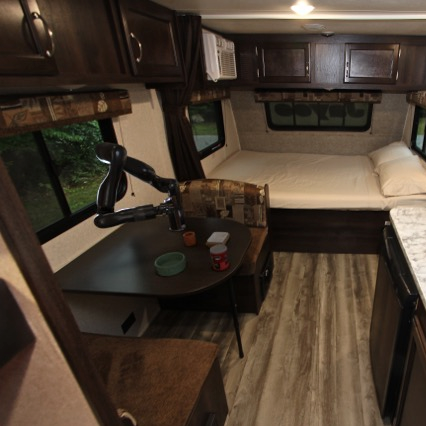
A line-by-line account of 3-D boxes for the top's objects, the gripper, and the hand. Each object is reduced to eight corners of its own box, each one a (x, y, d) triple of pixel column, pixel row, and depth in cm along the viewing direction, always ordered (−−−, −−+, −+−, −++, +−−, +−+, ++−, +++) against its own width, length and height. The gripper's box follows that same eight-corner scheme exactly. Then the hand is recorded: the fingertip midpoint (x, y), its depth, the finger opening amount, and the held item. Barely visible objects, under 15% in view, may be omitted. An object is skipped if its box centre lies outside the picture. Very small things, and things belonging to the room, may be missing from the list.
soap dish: (223, 250, 164) (222, 242, 161) (206, 249, 164) (204, 241, 162) (230, 239, 175) (229, 231, 173) (214, 238, 175) (213, 231, 173)
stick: (177, 227, 156) (170, 196, 148) (181, 226, 157) (175, 195, 149) (178, 228, 154) (171, 197, 147) (182, 228, 155) (175, 196, 147)
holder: (184, 242, 170) (182, 233, 167) (195, 240, 173) (193, 230, 170) (186, 247, 165) (184, 237, 163) (197, 244, 168) (195, 235, 165)
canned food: (210, 266, 150) (207, 248, 145) (224, 260, 155) (221, 242, 150) (217, 273, 145) (214, 254, 140) (231, 266, 150) (229, 248, 145)
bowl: (156, 264, 150) (153, 256, 148) (184, 257, 156) (182, 249, 154) (157, 279, 140) (155, 270, 138) (188, 270, 146) (186, 262, 144)
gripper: (142, 211, 137) (182, 204, 145) (141, 201, 148) (178, 195, 156) (146, 225, 140) (185, 217, 148) (145, 214, 151) (181, 207, 159)
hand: (181, 206), depth 152 cm, fingers closed on stick, 2 cm apart
